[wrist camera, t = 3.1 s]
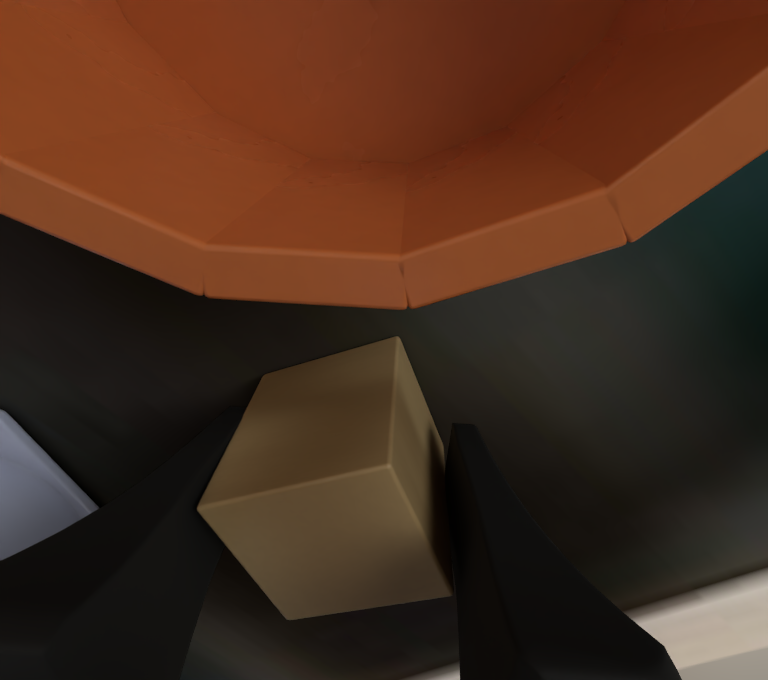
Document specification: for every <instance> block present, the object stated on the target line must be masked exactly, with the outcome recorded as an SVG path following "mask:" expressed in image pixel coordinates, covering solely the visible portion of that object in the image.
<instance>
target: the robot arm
mask: <svg viewBox="0 0 768 680" xmlns="http://www.w3.org/2000/svg"><path fill="white" fill-rule="evenodd" d="M245 410H246V407H233V406H230V407H229V408H227V409H226V410H225V411H224V412H223V413H222V414H220V415H219V416H218V417H217V418H216V419H215V420H214V421H213V422H211V423H210V424H209V425H208V426H207V427H206V428H205V429H204V430H203V431H201V432H200V433H199V434H198V435H197V436H196V437H195V438H193V439H192V440H191V441H190V442H189V443H188V444H186V445H185V446H184V447H183V448H182V449H181V450H179V451H178V452H177V453H176V454H175V455H173V456H172V457H171V458H170V459H169V460H167V461H166V462H165V463H163V464H162V465H161V466H160V467H158V468H157V469H156V470H154V471H153V472H152V473H151V474H149V475H148V476H147V477H145V478H144V479H143V480H141V481H140V482H139V483H137V484H136V485H134V486H133V487H131V488H130V489H129V490H127V491H126V492H124V493H123V494H121V495H120V496H118V497H117V498H115V499H114V500H112V501H111V502H109V503H107V504H106V505H104V506H103V507H101V508H99V507H98V506H97V505H96V504H95V503H94V502H93V500H92V499H91V498H90V497H89V496H88V495H87V494H86V493H85V492H84V491H83V490H82V489H81V488H80V487H79V486H78V485H77V484H76V483H75V482H74V481H73V480H72V479H71V478H70V477H69V476H68V475H67V474H66V473H65V472H64V471H63V470H62V468H61V467H60V466H59V465H58V464H57V463H56V462H55V461H54V460H53V459H52V458H51V457H50V456H49V455H48V454H47V453H46V452H45V451H44V450H43V449H42V448H41V447H40V446H39V445H38V444H37V443H36V442H35V441H34V440H33V439H32V438H31V436H30V435H29V434H28V433H27V432H26V431H25V430H24V429H23V428H22V427H21V426H20V425H19V424H18V423H17V422H16V421H15V420H14V419H13V418H12V417H11V416H10V415H9V414H8V413H7V412H5V411H4V410H2V409H0V680H179V679H180V676H181V672H182V669H183V665H184V662H185V658H186V655H187V652H188V649H189V645H190V642H191V639H192V636H193V632H194V629H195V626H196V623H197V620H198V616H199V613H200V610H201V607H202V604H203V601H204V598H205V595H206V592H207V589H208V586H209V583H210V580H211V578H212V575H213V573H214V570H215V568H216V565H217V563H218V561H219V558H220V556H221V554H222V551H223V549H224V547H225V544H224V543H223V542H222V541H221V539H220V538H219V537H218V536H217V534H216V533H215V532H214V531H213V530H212V528H211V527H210V526H209V525H208V524H207V522H206V521H205V520H204V519H203V517H202V516H201V515H200V514H199V513H198V511H197V505H198V503H199V501H200V499H201V497H202V495H203V493H204V491H205V489H206V487H207V485H208V483H209V481H210V479H211V477H212V475H213V473H214V471H215V469H216V467H217V465H218V463H219V462H220V460H221V458H222V456H223V454H224V452H225V450H226V448H227V446H228V444H229V442H230V440H231V438H232V436H233V435H234V433H235V431H236V429H237V428H238V426H239V424H240V422H241V420H242V418H243V414H244V412H245ZM444 475H445V489H446V503H447V510H448V518H449V532H450V546H451V556H452V563H453V571H454V578H455V585H456V595H457V609H458V631H459V656H460V680H682V679H681V677H680V675H679V673H678V671H677V669H676V667H675V665H674V664H673V662H672V660H671V658H670V656H669V655H668V653H667V651H666V649H665V647H664V646H663V645H662V644H661V643H659V642H658V641H657V640H656V639H655V638H653V637H652V636H651V635H650V634H649V633H647V632H646V631H645V630H644V629H642V628H641V627H640V626H639V625H638V624H636V623H635V622H634V621H633V620H631V619H630V618H629V617H628V616H627V615H625V614H624V613H623V612H622V611H621V610H619V609H618V608H617V607H616V606H615V605H614V604H613V603H612V602H611V601H610V600H608V599H607V598H606V597H605V596H604V595H603V594H602V593H601V592H600V591H599V590H597V589H596V588H595V587H594V586H593V585H592V584H591V583H590V582H589V581H588V580H587V579H586V578H585V576H584V575H583V574H582V573H581V572H580V571H579V570H578V569H577V568H576V567H575V566H574V565H573V564H572V563H571V562H570V561H569V560H568V559H567V558H566V557H565V556H564V555H563V554H562V553H561V551H560V550H559V549H558V548H557V547H556V546H555V545H554V544H553V542H552V541H551V540H550V539H549V538H548V536H547V535H546V534H545V533H544V532H543V530H542V529H541V528H540V527H539V525H538V524H537V523H536V522H535V520H534V519H533V518H532V516H531V515H530V514H529V512H528V511H527V510H526V508H525V507H524V506H523V504H522V503H521V501H520V500H519V499H518V497H517V496H516V494H515V493H514V491H513V490H512V488H511V487H510V485H509V484H508V482H507V480H506V479H505V477H504V476H503V474H502V472H501V471H500V469H499V468H498V466H497V464H496V463H495V461H494V459H493V457H492V456H491V454H490V452H489V450H488V448H487V446H486V445H485V443H484V441H483V439H482V437H481V435H480V433H479V431H478V428H477V427H476V426H475V425H471V424H458V423H453V424H452V430H451V436H450V443H449V449H448V455H447V461H446V468H445V474H444Z"/></svg>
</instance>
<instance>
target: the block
mask: <svg viewBox="0 0 768 680" xmlns="http://www.w3.org/2000/svg"><path fill="white" fill-rule="evenodd" d="M444 474H445V463H444V449H443V444H442V441H441V439H440V436H439V434H438V431H437V429H436V426H435V424H434V421H433V419H432V416H431V414H430V411H429V409H428V406H427V404H426V401H425V399H424V397H423V394H422V392H421V389H420V387H419V384H418V382H417V379H416V377H415V374H414V372H413V369H412V367H411V364H410V362H409V359H408V357H407V354H406V352H405V349H404V347H403V344H402V342H401V340H400V338H399V337H398V336H395V337H392V338H388V339H385V340H381V341H378V342H375V343H371V344H368V345H364V346H361V347H357V348H354V349H350V350H347V351H344V352H340V353H337V354H333V355H330V356H326V357H323V358H319V359H316V360H313V361H309V362H306V363H302V364H299V365H295V366H292V367H288V368H285V369H282V370H278V371H275V372H271V373H268V374H265V375H263V377H262V379H261V381H260V383H259V385H258V387H257V389H256V390H255V392H254V394H253V396H252V398H251V400H250V402H249V404H248V406H247V408H246V410H245V412H244V414H243V418H242V420H241V422H240V424H239V426H238V428H237V429H236V431H235V433H234V435H233V436H232V438H231V440H230V442H229V444H228V446H227V448H226V450H225V452H224V454H223V456H222V458H221V460H220V462H219V463H218V465H217V467H216V469H215V471H214V473H213V475H212V477H211V479H210V481H209V483H208V485H207V487H206V489H205V491H204V493H203V495H202V497H201V499H200V501H199V503H198V505H197V511H198V513H199V514H200V515H201V516H202V517H203V519H204V520H205V521H206V522H207V524H208V525H209V526H210V527H211V528H212V530H213V531H214V532H215V533H216V534H217V536H218V537H219V538H220V539H221V541H222V542H223V543H224V544H225V545H226V547H227V548H228V549H229V550H230V551H231V553H232V554H233V555H234V556H235V558H236V559H237V560H238V561H239V562H240V564H241V565H242V566H243V567H244V568H245V570H246V571H247V572H248V573H249V575H250V576H251V577H252V578H253V579H254V581H255V582H256V583H257V584H258V585H259V587H260V588H261V589H262V590H263V592H264V593H265V594H266V595H267V596H268V598H269V599H270V600H271V601H272V602H273V604H274V605H275V606H276V607H277V609H278V610H279V611H280V612H281V613H282V615H283V616H284V617H285V618H286V619H287V620H294V619H301V618H307V617H314V616H321V615H327V614H334V613H341V612H347V611H354V610H361V609H367V608H374V607H381V606H387V605H394V604H401V603H407V602H414V601H421V600H428V599H434V598H441V597H448V596H452V595H453V592H454V588H453V574H452V560H451V546H450V532H449V518H448V510H447V503H446V489H445V475H444Z"/></svg>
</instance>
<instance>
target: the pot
mask: <svg viewBox="0 0 768 680" xmlns="http://www.w3.org/2000/svg"><path fill="white" fill-rule="evenodd" d="M767 150H768V0H0V214H2V215H4V216H7V217H9V218H11V219H14V220H16V221H19V222H21V223H23V224H26V225H28V226H31V227H33V228H36V229H38V230H40V231H43V232H45V233H48V234H50V235H52V236H55V237H57V238H60V239H62V240H64V241H67V242H69V243H72V244H74V245H77V246H79V247H81V248H84V249H86V250H89V251H91V252H93V253H96V254H98V255H101V256H103V257H105V258H108V259H110V260H113V261H115V262H118V263H120V264H122V265H125V266H127V267H130V268H132V269H134V270H137V271H139V272H142V273H144V274H147V275H149V276H151V277H154V278H156V279H159V280H161V281H163V282H166V283H168V284H171V285H173V286H175V287H178V288H180V289H183V290H185V291H188V292H190V293H192V294H195V295H200V296H201V295H204V294H205V296H206V297H208V298H213V299H230V300H246V301H263V302H279V303H295V304H312V305H328V306H345V307H361V308H378V309H394V310H403V309H406V308H407V307H408V306H409V307H410V309H415V308H419V307H422V306H425V305H429V304H432V303H435V302H439V301H442V300H445V299H449V298H452V297H455V296H458V295H462V294H465V293H468V292H472V291H475V290H478V289H482V288H485V287H488V286H492V285H495V284H498V283H502V282H505V281H508V280H512V279H515V278H518V277H521V276H525V275H528V274H531V273H535V272H538V271H541V270H545V269H548V268H551V267H555V266H558V265H561V264H565V263H568V262H571V261H575V260H578V259H581V258H584V257H588V256H591V255H594V254H598V253H601V252H604V251H608V250H611V249H614V248H618V247H621V246H623V245H625V244H626V242H627V241H628V242H634V241H636V240H637V239H639V238H640V237H642V236H643V235H645V234H646V233H648V232H649V231H650V230H652V229H653V228H655V227H656V226H658V225H659V224H661V223H662V222H664V221H665V220H666V219H668V218H669V217H671V216H672V215H674V214H675V213H677V212H678V211H680V210H681V209H682V208H684V207H685V206H687V205H688V204H690V203H691V202H693V201H694V200H696V199H697V198H699V197H700V196H701V195H703V194H704V193H706V192H707V191H709V190H710V189H712V188H713V187H715V186H716V185H717V184H719V183H720V182H722V181H723V180H725V179H726V178H728V177H729V176H731V175H732V174H733V173H735V172H736V171H738V170H739V169H741V168H742V167H744V166H745V165H747V164H748V163H749V162H751V161H752V160H754V159H755V158H757V157H758V156H760V155H761V154H763V153H764V152H765V151H767Z"/></svg>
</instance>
